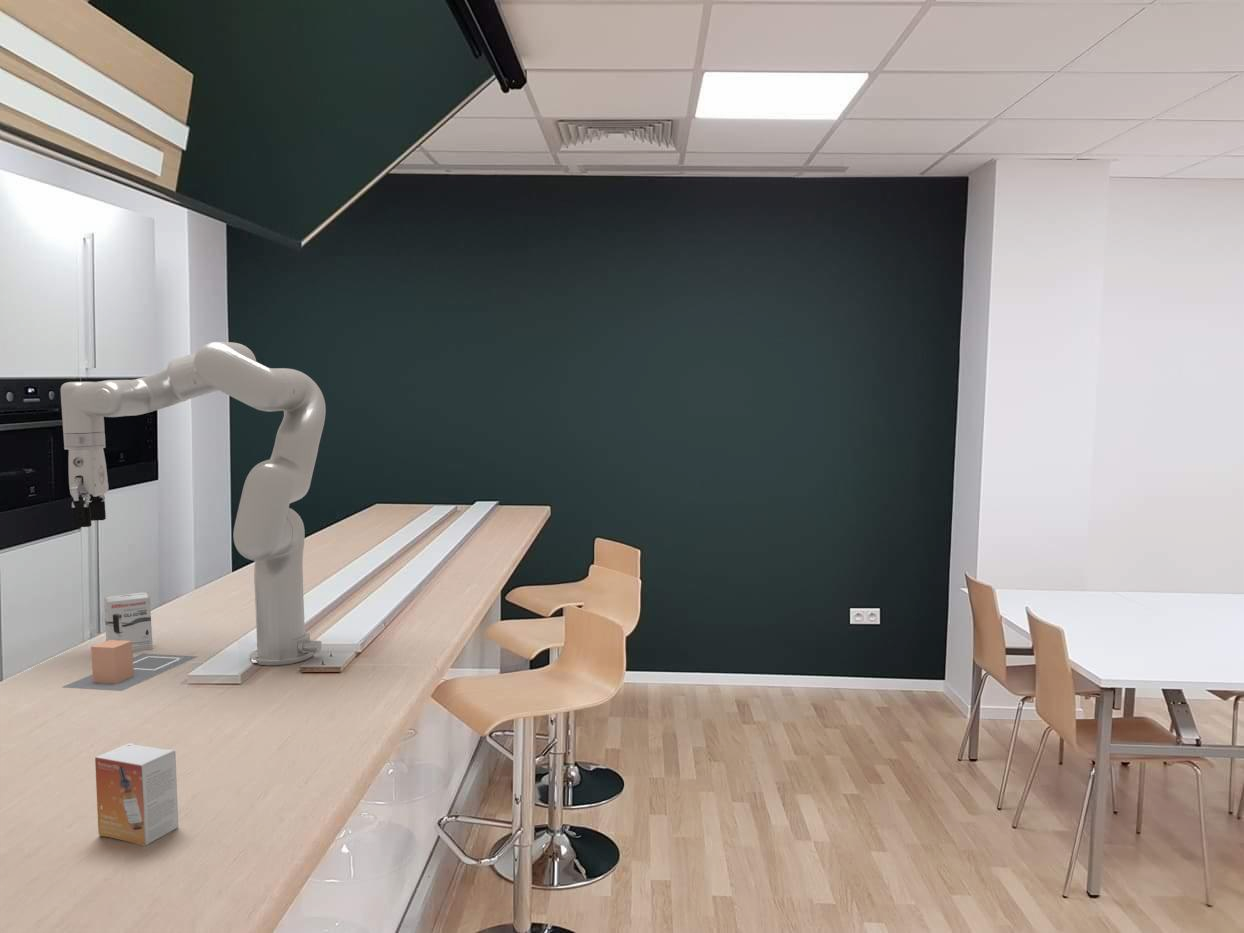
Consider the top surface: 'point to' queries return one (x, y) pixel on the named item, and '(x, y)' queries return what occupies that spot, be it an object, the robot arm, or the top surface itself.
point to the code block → (112, 661)
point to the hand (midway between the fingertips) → (90, 523)
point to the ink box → (129, 619)
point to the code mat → (136, 672)
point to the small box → (136, 793)
